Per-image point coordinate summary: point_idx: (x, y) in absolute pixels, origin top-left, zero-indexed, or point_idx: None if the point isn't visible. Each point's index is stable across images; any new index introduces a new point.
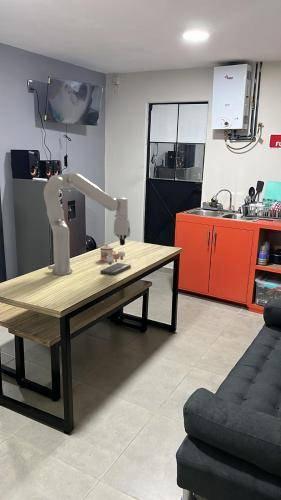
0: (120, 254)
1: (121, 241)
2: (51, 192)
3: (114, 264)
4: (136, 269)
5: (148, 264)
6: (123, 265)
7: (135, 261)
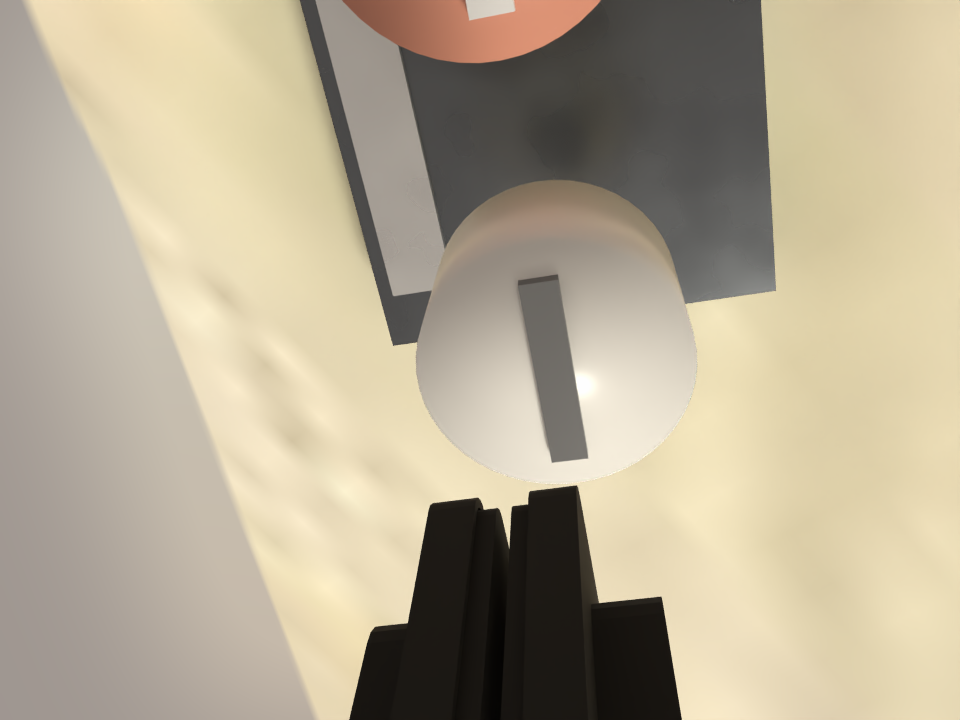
0: (510, 219)
1: (452, 672)
2: None
3: (757, 106)
4: (221, 293)
5: (318, 665)
6: (490, 191)
7: None
